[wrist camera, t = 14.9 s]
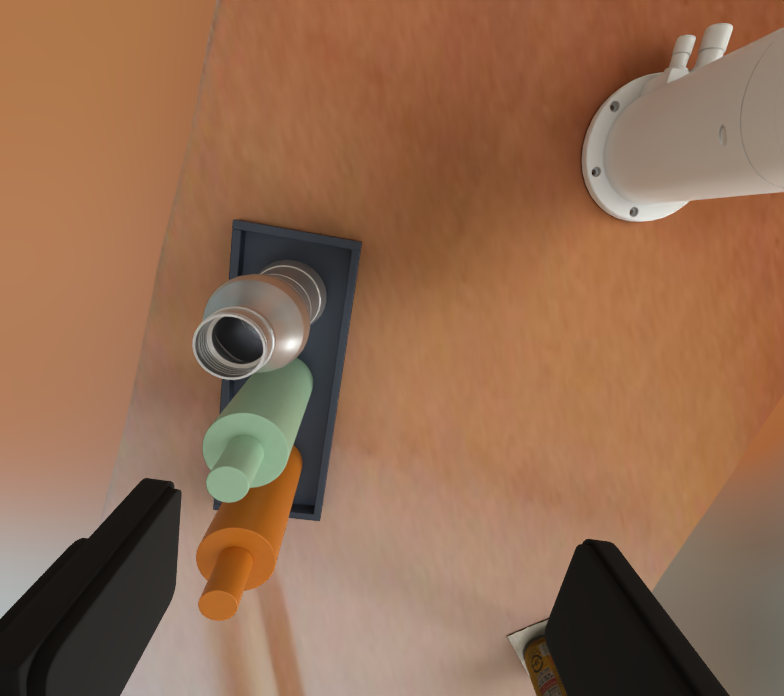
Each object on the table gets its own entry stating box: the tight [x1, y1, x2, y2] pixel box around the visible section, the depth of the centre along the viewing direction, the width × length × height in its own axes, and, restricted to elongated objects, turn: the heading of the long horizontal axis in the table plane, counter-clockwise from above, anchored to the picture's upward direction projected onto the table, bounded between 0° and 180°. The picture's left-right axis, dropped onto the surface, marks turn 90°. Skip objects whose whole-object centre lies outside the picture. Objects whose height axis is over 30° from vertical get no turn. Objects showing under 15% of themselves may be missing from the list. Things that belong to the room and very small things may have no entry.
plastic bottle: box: [192, 260, 327, 380], centre depth 31 cm, size 6×7×20 cm
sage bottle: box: [203, 358, 313, 503], centre depth 34 cm, size 6×6×18 cm
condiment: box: [508, 620, 567, 696], centre depth 50 cm, size 7×8×12 cm
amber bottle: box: [196, 445, 303, 621], centre depth 36 cm, size 6×6×18 cm
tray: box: [213, 219, 362, 521], centre depth 42 cm, size 31×12×2 cm, turn 170°
